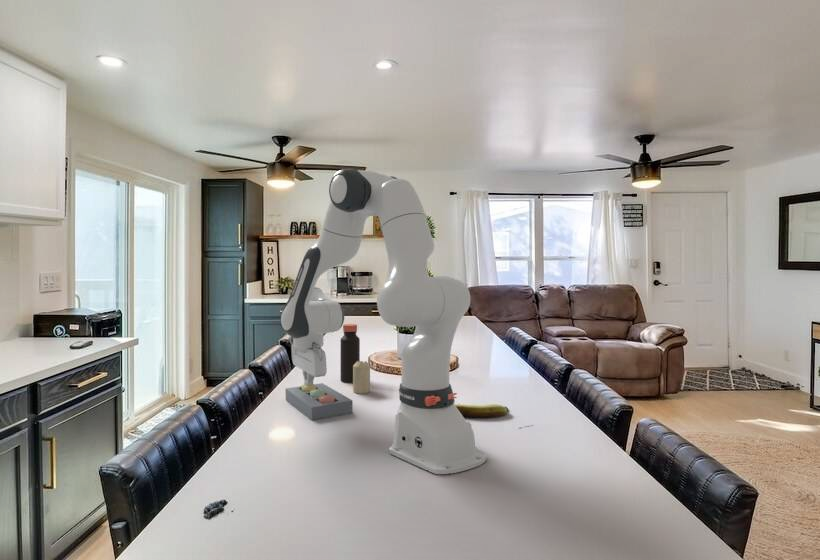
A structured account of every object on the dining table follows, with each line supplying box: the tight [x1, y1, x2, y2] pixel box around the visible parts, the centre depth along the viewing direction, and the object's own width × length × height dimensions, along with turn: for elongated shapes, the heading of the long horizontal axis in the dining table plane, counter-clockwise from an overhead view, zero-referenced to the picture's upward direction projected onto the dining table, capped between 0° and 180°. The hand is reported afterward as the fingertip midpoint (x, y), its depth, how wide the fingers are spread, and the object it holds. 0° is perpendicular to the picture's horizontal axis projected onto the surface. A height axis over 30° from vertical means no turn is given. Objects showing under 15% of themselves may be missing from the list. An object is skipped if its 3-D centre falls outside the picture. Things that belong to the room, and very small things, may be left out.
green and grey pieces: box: [455, 403, 528, 429], centre depth 129 cm, size 35×27×4 cm
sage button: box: [310, 389, 325, 398], centre depth 136 cm, size 4×4×3 cm
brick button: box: [319, 395, 334, 404], centre depth 130 cm, size 4×4×3 cm
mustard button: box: [301, 383, 316, 392], centre depth 142 cm, size 4×4×3 cm
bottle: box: [340, 323, 361, 383], centre depth 165 cm, size 7×7×20 cm
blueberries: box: [202, 499, 234, 520], centre depth 78 cm, size 7×8×2 cm
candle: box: [352, 360, 371, 394], centre depth 151 cm, size 6×6×10 cm
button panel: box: [285, 382, 353, 421], centre depth 136 cm, size 22×12×4 cm, turn 33°
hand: (308, 385), depth 142 cm, fingers closed, pressing on mustard button
